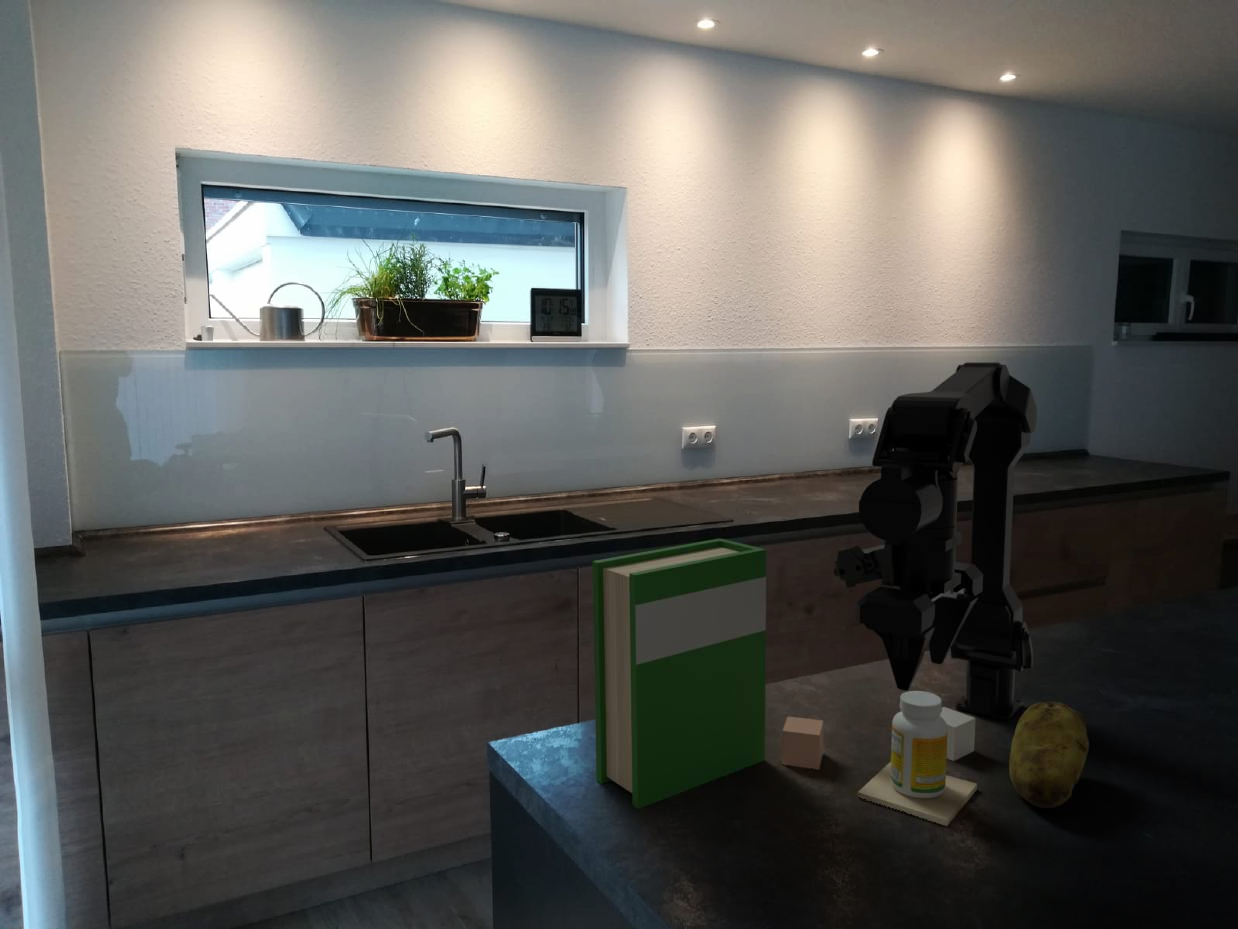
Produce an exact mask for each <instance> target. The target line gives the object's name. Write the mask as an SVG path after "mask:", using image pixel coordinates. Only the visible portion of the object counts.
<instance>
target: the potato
mask: <svg viewBox="0 0 1238 929" xmlns="http://www.w3.org/2000/svg"><path fill="white" fill-rule="evenodd" d="M1017 721H1018V722H1017V724H1016V727H1015V731H1014V735H1013V737H1012V740H1011V746H1010V747H1011V748H1010V755H1009V762H1008V764H1009V765H1008V767H1009V770H1008V771H1009V777H1010V780H1011V783H1012V785H1013V787H1014V789H1015V791H1016V792H1017V793H1018V794H1019V796H1021V797H1022V798H1023V799H1024V800H1025V801H1027V802H1028V803H1030V804H1032V805H1034V806H1035V807H1038V808H1039V809H1052V808H1057V807H1060V806H1061V805H1063V804H1064V803H1066V802H1068V800H1069V799H1070V798H1071V797H1072V796H1073V793H1072V792H1073V789H1074V787H1075V785H1077V784H1078V783H1079V781H1080V779H1081V776H1082V774H1083V772H1084V766H1085V765H1086V761H1087V757H1088V752H1089V749H1090V748H1089V747H1090V741H1089V738H1088V733H1087V723H1086V720H1085V718H1084V715H1082V713H1081V712H1079V711H1078V710H1076V709H1074V708H1073V707H1072V706H1070V705H1068V704H1064V703H1063V702H1059V701H1040V702H1035V703H1034V704H1032V705H1030V706H1029V707H1027V709H1026V710H1025V711H1024V712H1023V713H1022V714H1021V716H1020V718H1019V719H1018V720H1017Z"/></svg>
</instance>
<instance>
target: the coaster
mask: <svg viewBox="0 0 1238 929" xmlns="http://www.w3.org/2000/svg"><path fill="white" fill-rule="evenodd" d="M890 771H891V761H889V763H887V764H886V765H885V766H884V767H883V768H881V770H880V771H879V772H878V773H876V775H875V776H874V777H872V778H871V779H870V780H869V781H868V782H867V783H866V784H865V785H864V786H862V788H860V789H859V790H858V792H857V798H858V797H860V798H862V799H861V800H863V799H866V800H865V801H867V802H870V801H872V802H871V803H873V802H874V803H873V804H876V803H877V805H879V804H881V805H880V806H882V805H883V807H885V806H886V807H885V808H888V807H890V808H889V809H892V808H894V809H893V810H895V809H897V810H896V811H898V810H900V811H899V812H901V811H904V812H906V813H905V814H907V813H908V815H910V814H912V815H911V816H913V815H914V816H915V817H917V816H918V817H917V818H919V819H923V818H924V819H923V820H926V819H927V820H926V821H929V822H933V823H935V822H936V824H940V825H942V826H946V827H948V826H949V824H950V823H951V822H952V820H954V819H955V817H956V815H958V813H959V812H960V811H961V810H962V809H963V807H964V806H965V805H966V803H967V802H968V801H969V800H970V799H971V797H972V796H973V795H974V793H975V792H976V791H977V790H978V783H976V782H972V781H968V780H964V779H961V778H957V777H954V776H951V775H948V774H946V783H945V790H944V792H943V793H942V794H941V795H940V796H938V797H935V798H914V797H910V796H906V795H904V794H902V793H900V792H898V791H897V790H896V789H895V788H894V787H893V786H892V784H891V780H890ZM860 798H859V799H860ZM964 804H965V805H964ZM884 805H885V806H884ZM904 812H903V813H904ZM950 821H951V822H950Z"/></svg>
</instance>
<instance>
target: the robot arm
mask: <svg viewBox="0 0 1238 929" xmlns="http://www.w3.org/2000/svg"><path fill="white" fill-rule="evenodd" d="M1037 410H1038V409H1037V405H1036V402H1035V399H1034V395H1033V391H1032V390H1031V388H1030V387H1029V386H1027V385H1026V384H1024V383H1023V382H1022V381H1020V380H1018V379H1017V378H1016V377H1013V376H1012V375H1010V372H1009V369H1008V367H1007V365H1006V364H1001V363H1000V362H999V361H997V362H995V361H993V362H991V361H990V362H989V361H988V362H982V361H981V362H976V361H975V362H969V361H967V362H964V363H963V364H958V366H956V370H955V372H954V373H953V374H952V375H950V376H949V377H948V378H946V379H945V380H943V381H942V382H941V383H940V384H938V385H937V386H936V387H935V388H934V389H932V390H931V391H925V392H924V391H923V392H914V393H913V392H910V393H906V394H905V393H904V394H902V395H899V396H897V397H896V398H894V401H893V402H892V404H891V406H890V407H888V409H887V410H886V413H885V415H884V419H883V422H882V425H881V429H880V432H879V436H878V439H877V443H876V446H875V450H874V454H873V458H872V464H871V466H872V467H874V468H875V467H876V468H880V478H878V479H876V480H875V481H872V482H870V483H869V484H868V485H867V486H866V488H865V489H864V491H863V492H862V495H861V496H860V500H859V501H858V513H859V514H858V515H859V517H860V520H861V523H862V524H863V526H864V527H865V529H866V530H867V531H868V532H869V533H870V534H871V535H872V536H874V537H876V538H877V539H880V540H882V541H884V543H883V544H881V545H876V546H873V547H869V548H868V547H867V548H865V549H861V547H859V545H853V546H851V547H848V548H847V547H844V548H842V549H840V550H838V551H837V555H836V559H835V560H834V566H835V567H834V568H833V574H834V575H835V577H837V578H839V579H840V580H841V581H843V584H844V587H845V589H851V588H855V587H857V585H861V584H864V583H869V582H874V581H879V580H881V584H880V586H879V587H877V588H875V589H873V590H871V591H869V592H867V593H865V595H863V596H862V597H860V599H858V600H857V601H856V622H858V623H859V624H862V625H863V626H864V627H865V629H867V630H870V631H873V632H874V633H875V634H876V635H877V636H878V637H879V638H880V639H881V641H882V642H883V646H884V649H885V651H886V654H887V657H888V661H889V666H890V668H891V672H892V675H893V678H894V681H895V685H896V687H897V689H898V690H901V691H904V692H908V691H909V690H910V689H911V688H912V685H913V682H914V680H915V677H916V675H917V673H918V670H919V668H920V666H921V664H922V660H923V658H924V655H925V653H926V650H927V649H928V648H929V658H930V662H931V663H932V664H936V665H942V664H943V663H944V662H945V659H946V658H947V655H948V654H949V652H950V657H951V659H953V660H956V659H958V660H962V661H965V676H964V677H965V683H964V685H965V686H964V695H963V696H962V697H960V699H958V700H957V702H955V703H954V707H955V709H957V710H961V711H965V712H970V713H974V714H978V715H979V714H980V715H984V716H987V717H990V718H991V717H993V718H997V719H999V720H1000V719H1001V720H1005V721H1008V720H1010V719H1011V718H1012V717H1013V716H1014V715H1015V713H1017V711H1018V710H1019V709H1020V708H1021V707H1022V706H1023V701H1022V699H1021V700H1020V699H1017V698H1014V696H1015V679H1016V677H1015V675H1016V671H1018V672H1020V673H1021V672H1022V671H1023V670H1026V669H1032V668H1033V664H1034V663H1033V661H1034V654H1033V652H1034V651H1033V645H1032V644H1033V643H1032V638H1031V634H1030V633H1029V630H1028V625H1027V623H1026V621H1023V618H1024V617H1023V615H1024V614H1023V610H1024V609H1023V608H1024V607H1023V604H1022V601H1021V600H1020V599H1019V597H1018V595H1017V593H1016V592H1015V590H1014V589H1013V587H1012V585H1011V584H1010V578H1011V557H1012V556H1011V555H1012V554H1011V552H1012V529H1013V528H1012V527H1013V509H1014V503H1013V502H1014V484H1015V466H1016V465H1017V463H1018V462H1019V461H1020V459H1021V457H1022V456H1023V455H1024V453H1025V452H1026V451H1027V449H1028V448H1029V446H1030V444H1031V434H1033V433H1035V430H1036V425H1037V420H1038V419H1037V418H1038V411H1037ZM968 459H969V461H970V462H971V465H972V466H973V478H972V479H973V482H972V483H973V485H972V487H973V488H972V508H971V512H972V513H971V534H970V535H971V538H970V540H971V541H970V562H969V563H967V562H959V561H956V548H957V547H958V546H960V545H961V544H962V543H963V535H964V534H963V532H957V515H958V514H957V513H958V512H957V511H958V491H959V489H958V487H959V486H958V485H959V484H958V482H959V478H958V477H959V476H958V475H959V474H958V473H959V470H960V469H961V467H962V464H963V463H964V464H967V462H968ZM894 587H899V588H894Z"/></svg>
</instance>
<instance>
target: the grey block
mask: <svg viewBox="0 0 1238 929" xmlns="http://www.w3.org/2000/svg"><path fill="white" fill-rule="evenodd" d="M940 716H941V717H942V718H943V719H944V720H945V722H946V724H947V727H948V736H947V760H950V761H953V762H955V761H956V760H959V759H961V758H963V757H965V756H967V755H969V754H971V753H973V752H974V751H975V734H976V733H975V732H976V717H974V716H970V715H969V714H965V713H962V712H960V711H956V710H954V709H951V708H949V707H945V706H942V712H941V714H940Z"/></svg>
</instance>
